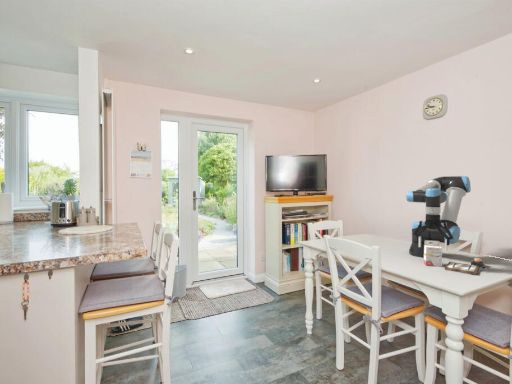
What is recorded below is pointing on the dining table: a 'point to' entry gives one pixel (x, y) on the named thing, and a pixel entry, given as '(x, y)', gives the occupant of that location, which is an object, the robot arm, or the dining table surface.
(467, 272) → the brown divided square tray
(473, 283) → the dining table surface
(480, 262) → the button
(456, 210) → the robot arm
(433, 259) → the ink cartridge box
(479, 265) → the button housing
